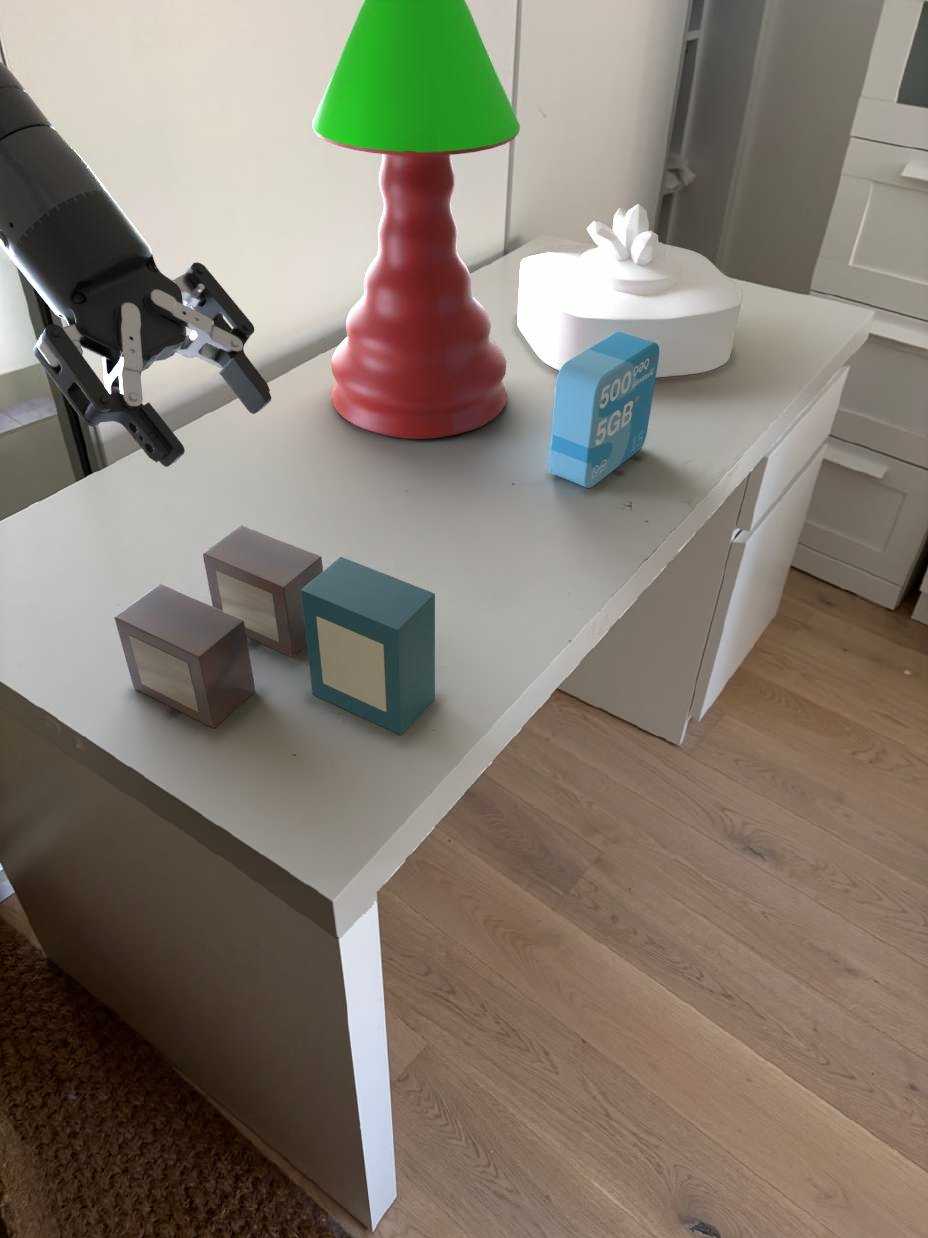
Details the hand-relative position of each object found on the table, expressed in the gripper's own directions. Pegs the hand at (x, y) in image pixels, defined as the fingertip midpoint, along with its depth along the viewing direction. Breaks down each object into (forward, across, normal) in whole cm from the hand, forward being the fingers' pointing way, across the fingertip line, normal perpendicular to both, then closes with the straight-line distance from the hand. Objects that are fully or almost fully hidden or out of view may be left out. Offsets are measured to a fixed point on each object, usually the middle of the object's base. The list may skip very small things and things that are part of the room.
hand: (221, 432), depth 65 cm
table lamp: (+5, +42, +22) cm, 48 cm away
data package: (+22, +40, +6) cm, 46 cm away
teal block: (+21, 0, +5) cm, 22 cm away
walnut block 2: (+13, +2, +14) cm, 19 cm away
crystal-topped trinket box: (+14, +71, +13) cm, 73 cm away
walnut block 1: (+13, -7, +13) cm, 20 cm away
